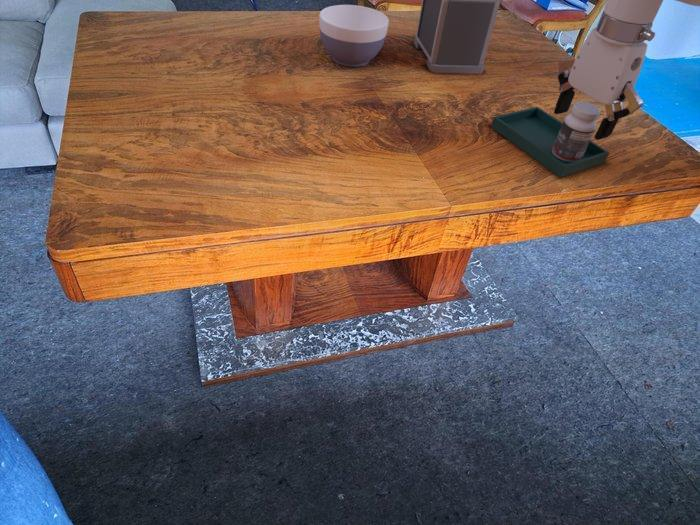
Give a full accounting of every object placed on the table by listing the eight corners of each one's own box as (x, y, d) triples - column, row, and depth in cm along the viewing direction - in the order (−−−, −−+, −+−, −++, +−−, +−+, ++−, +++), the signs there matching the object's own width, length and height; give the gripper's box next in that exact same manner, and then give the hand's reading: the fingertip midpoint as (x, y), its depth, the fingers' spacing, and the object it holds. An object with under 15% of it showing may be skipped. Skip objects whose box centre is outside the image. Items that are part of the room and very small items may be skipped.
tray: (604, 163, 97) (609, 152, 96) (560, 177, 92) (565, 166, 91) (533, 116, 109) (536, 106, 107) (490, 127, 104) (493, 116, 102)
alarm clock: (483, 73, 122) (506, -9, 109) (431, 72, 120) (448, -12, 107) (460, 43, 135) (478, -34, 122) (412, 41, 133) (426, -37, 120)
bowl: (394, 57, 125) (400, 16, 118) (364, 79, 114) (369, 36, 108) (338, 40, 129) (340, -1, 123) (304, 60, 119) (305, 17, 112)
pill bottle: (549, 145, 100) (569, 97, 93) (578, 150, 99) (600, 102, 92) (552, 160, 95) (573, 112, 88) (583, 166, 95) (606, 117, 88)
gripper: (684, 45, 77) (632, 144, 89) (595, 7, 87) (559, 100, 99) (654, 52, 74) (604, 153, 86) (565, 11, 84) (531, 107, 96)
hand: (580, 124), depth 93 cm, fingers open, 9 cm apart
